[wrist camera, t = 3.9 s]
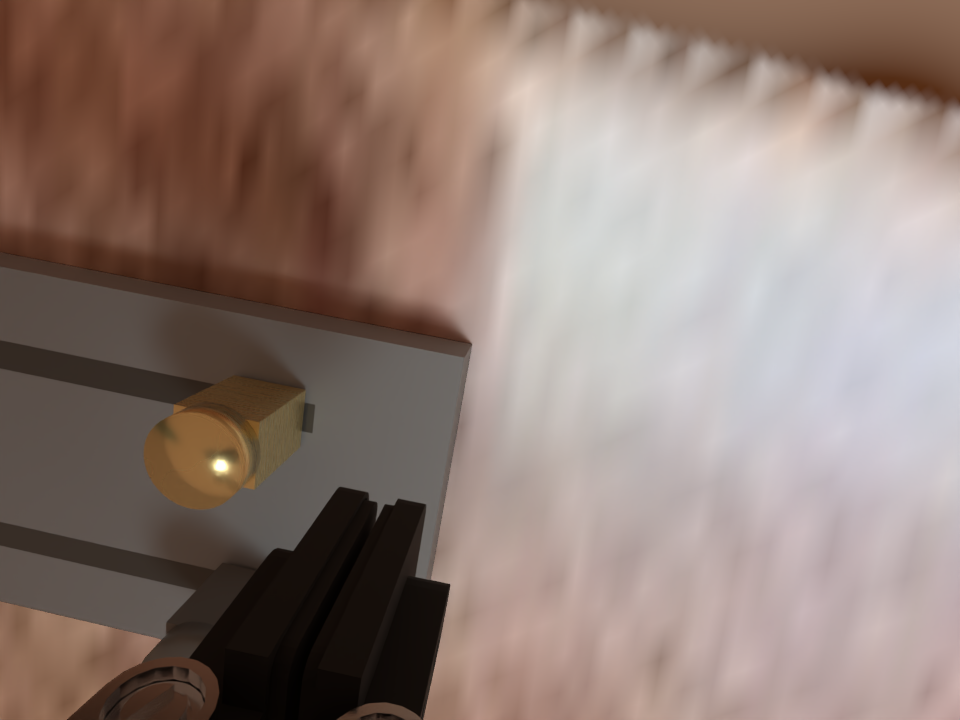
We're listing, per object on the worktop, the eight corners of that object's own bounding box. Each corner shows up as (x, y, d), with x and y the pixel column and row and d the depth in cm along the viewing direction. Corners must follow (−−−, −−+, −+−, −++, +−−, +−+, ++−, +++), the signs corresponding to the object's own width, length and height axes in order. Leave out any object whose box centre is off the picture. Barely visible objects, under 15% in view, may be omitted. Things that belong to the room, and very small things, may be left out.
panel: (472, 344, 19) (458, 367, 16) (417, 655, 22) (397, 725, 19) (-168, 219, 20) (-297, 218, 17) (-130, 529, 23) (-232, 575, 20)
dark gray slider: (290, 570, 19) (228, 658, 15) (284, 632, 20) (223, 731, 16) (219, 554, 19) (140, 637, 15) (215, 616, 20) (138, 710, 16)
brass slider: (309, 381, 17) (244, 426, 13) (302, 455, 18) (237, 518, 14) (231, 365, 18) (144, 405, 14) (227, 440, 18) (142, 498, 14)
